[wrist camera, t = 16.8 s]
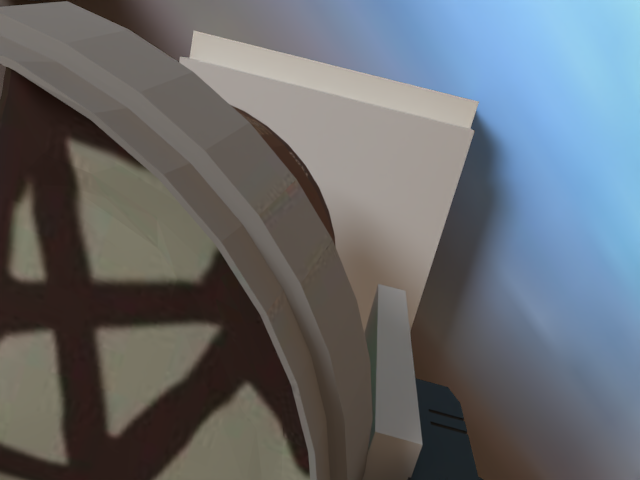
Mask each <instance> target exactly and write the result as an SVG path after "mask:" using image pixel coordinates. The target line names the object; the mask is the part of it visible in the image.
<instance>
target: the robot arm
mask: <svg viewBox="0 0 640 480" xmlns="http://www.w3.org/2000/svg"><path fill="white" fill-rule="evenodd" d="M364 335H365V339H366V344H367V349H368V353H369V358H370V367H371V391H372V415H373V419H372V426H371V433H370V441H369V448H368V455H367V462H366V469H365V473H364V476H363V479H362V480H483V479H481V478H480V477H478V474H477V470H476V466H475V462H474V458H473V454H472V450H471V446H470V442H469V437H468V435H467V429H466V425H465V422H464V421H463V420H464V417H463V413H462V409H461V405H460V402H459V401H458V400H457V399H456V397H455V396H454V395H453V393H452V392H451V391H450V390H449V388H448V387H445V386H441V385H438V384H434V383H430V382H427V381H423V380H419V379H416V378H415V372H414V363H413V354H412V345H411V336H410V327H409V318H408V309H407V300H406V291H404V290H400V289H396V288H393V287H389V286H385V285H381V284H378V287H377V290H376V294H375V297H374V301H373V304H372V307H371V311H370V314H369V318H368V321H367V325H366V328H365V331H364Z"/></svg>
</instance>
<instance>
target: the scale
mask: <svg viewBox="0 0 640 480" xmlns="http://www.w3.org/2000/svg"><path fill="white" fill-rule="evenodd" d="M179 63H181V64H182V65H184V66H185V67H187V68H188V69H190V70H191V71H193V72H194V73H195V74H196V75H197V76H198V77H200V78H201V79H202V80H203V81H204V82H205V83H206V84H207V85H208V86H210V87H211V88H212V89H213V90H214V91H215V92H216V93H217V94H219V95H220V96H221V97H222V98H223V99H224V100H225V101H226V102H227V103H229V104H230V105H232V106H234V107H236V108H239V109H241V110H243V111H245V112H247V113H248V114H250V115H251V116H253V117H254V118H256V119H257V120H259V121H260V122H262V123H263V124H265V125H267V126H268V127H269V128H270V129H271V130H272V131H274V132H275V133H276V134H277V135H278V136H279V137H280V138H281V139H283V140H284V141H285V142H286V143H287V144H288V145H289V146H290V147H291V148H292V150H293V151H294V152H295V153H296V154H297V156H298V157H299V158H300V159H301V160H302V162H303V163H304V164H305V165H306V167H307V168H308V170H309V172H310V173H311V175H312V177H313V178H314V180H315V182H316V183H317V185H318V186H319V188H320V191H321V193H322V196H323V198H324V200H325V203H326V205H327V208H328V210H329V213H330V218H331V222H332V226H333V230H334V235H335V247H336V250H337V252H338V255H339V257H340V260H341V262H342V265H343V267H344V270H345V272H346V275H347V277H348V280H349V282H350V285H351V287H352V290H353V292H354V295H355V297H356V300H357V303H358V308H359V312H360V317H361V321H362V326H363V330H364V331H365V328H366V325H367V321H368V318H369V314H370V311H371V307H372V304H373V301H374V297H375V294H376V290H377V287H378V284H381V285H385V286H389V287H393V288H396V289H400V290H404V291H406V300H407V309H408V318H409V327H410V331H411V328H412V324H413V321H414V318H415V315H416V312H417V309H418V306H419V303H420V300H421V296H422V293H423V290H424V287H425V284H426V281H427V278H428V275H429V272H430V268H431V265H432V262H433V259H434V256H435V253H436V250H437V247H438V244H439V240H440V237H441V234H442V231H443V228H444V225H445V222H446V219H447V216H448V212H449V209H450V206H451V203H452V200H453V197H454V194H455V191H456V187H457V184H458V181H459V178H460V175H461V172H462V169H463V166H464V163H465V159H466V156H467V153H468V150H469V147H470V144H471V141H472V138H473V135H474V130H472V129H470V128H471V125H472V122H473V119H474V116H475V112H476V109H477V106H478V103H479V102H478V101H474V100H470V99H466V98H462V97H458V96H454V95H450V94H446V93H442V92H438V91H434V90H430V89H426V88H422V87H418V86H414V85H410V84H406V83H402V82H398V81H394V80H390V79H386V78H382V77H378V76H374V75H370V74H366V73H362V72H357V71H353V70H349V69H345V68H341V67H337V66H333V65H329V64H325V63H321V62H317V61H313V60H309V59H305V58H301V57H297V56H293V55H289V54H285V53H281V52H277V51H273V50H269V49H265V48H261V47H257V46H253V45H249V44H245V43H241V42H237V41H233V40H229V39H225V38H221V37H217V36H213V35H209V34H205V33H201V32H197V31H194V33H193V39H192V46H191V52H190V58H187V57H180V61H179Z"/></svg>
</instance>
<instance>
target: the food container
mask: <svg viewBox="0 0 640 480" xmlns="http://www.w3.org/2000/svg"><path fill="white" fill-rule="evenodd" d="M0 64H2V65H4V66H6V71H5V76H4V83H3V90H2V96H1V99H0V480H362V479H363V476H364V473H365V469H366V462H367V455H368V448H369V441H370V433H371V426H372V419H373V415H372V391H371V367H370V358H369V353H368V349H367V344H366V339H365V335H364V330H363V326H362V321H361V317H360V312H359V308H358V303H357V300H356V297H355V295H354V292H353V290H352V287H351V285H350V282H349V280H348V277H347V275H346V272H345V270H344V267H343V265H342V262H341V260H340V257H339V255H338V252H337V250H336V247H335V235H334V230H333V226H332V222H331V218H330V213H329V210H328V208H327V205H326V203H325V200H324V198H323V196H322V193H321V191H320V188H319V186H318V185H317V183H316V182H315V180H314V178H313V177H312V175H311V173H310V172H309V170H308V168H307V167H306V165H305V164H304V163H303V162H302V160H301V159H300V158H299V157H298V156H297V154H296V153H295V152H294V151H293V150H292V148H291V147H290V146H289V145H288V144H287V143H286V142H285V141H284V140H283V139H281V138H280V137H279V136H278V135H277V134H276V133H275V132H274V131H272V130H271V129H270V128H269V127H268V126H267V125H265V124H263V123H262V122H260V121H259V120H257V119H256V118H254V117H253V116H251V115H250V114H248V113H247V112H245V111H243V110H241V109H239V108H236V107H234V106H232V105H230V104H229V103H227V102H226V101H225V100H224V99H223V98H222V97H221V96H220V95H219V94H217V93H216V92H215V91H214V90H213V89H212V88H211V87H210V86H208V85H207V84H206V83H205V82H204V81H203V80H202V79H201V78H200V77H198V76H197V75H196V74H195V73H194V72H193V71H191V70H190V69H188V68H187V67H185V66H184V65H182V64H181V63H179V62H178V61H176V60H175V59H173V58H171V57H170V56H168V55H167V54H165V53H164V52H162V51H161V50H159V49H158V48H156V47H155V46H153V45H152V44H150V43H149V42H147V41H146V40H144V39H143V38H141V37H140V36H138V35H136V34H135V33H133V32H132V31H130V30H129V29H127V28H124V27H122V26H120V25H118V24H116V23H114V22H111V21H109V20H107V19H105V18H103V17H101V16H98V15H96V14H94V13H92V12H90V11H88V10H85V9H83V8H81V7H79V6H77V5H74V4H72V3H70V2H68V1H63V2H51V3H39V4H27V5H15V6H4V7H0Z"/></svg>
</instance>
